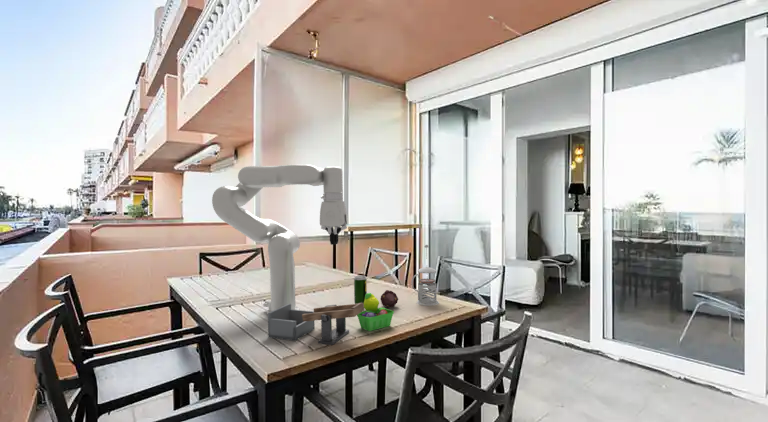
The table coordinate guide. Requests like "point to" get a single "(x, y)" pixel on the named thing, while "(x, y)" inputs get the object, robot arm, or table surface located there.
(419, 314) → the table surface
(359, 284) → the beer can
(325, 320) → the lever stand
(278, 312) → the bin
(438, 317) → the table surface
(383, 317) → the fruit basket
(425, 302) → the french press
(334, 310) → the lever
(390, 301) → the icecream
